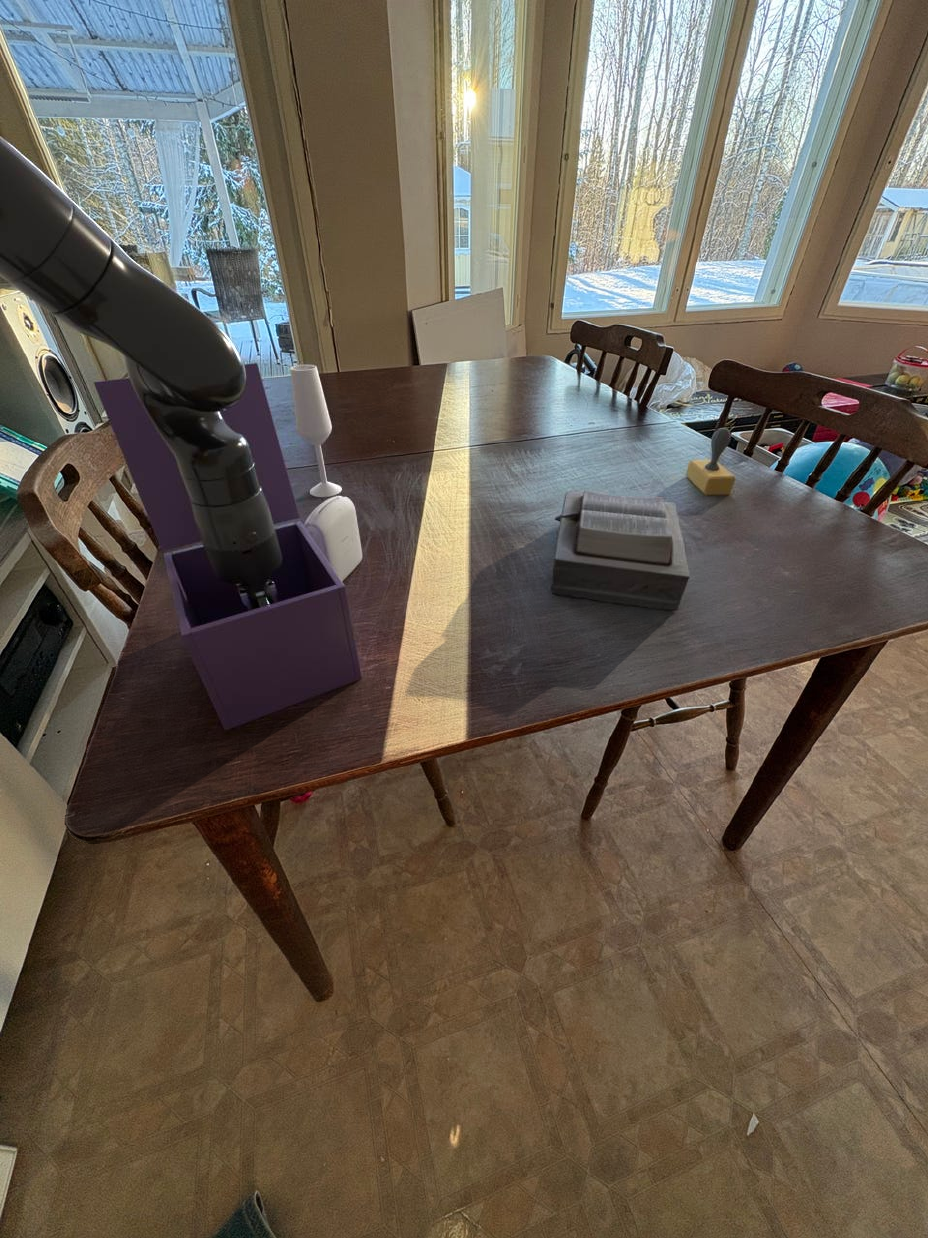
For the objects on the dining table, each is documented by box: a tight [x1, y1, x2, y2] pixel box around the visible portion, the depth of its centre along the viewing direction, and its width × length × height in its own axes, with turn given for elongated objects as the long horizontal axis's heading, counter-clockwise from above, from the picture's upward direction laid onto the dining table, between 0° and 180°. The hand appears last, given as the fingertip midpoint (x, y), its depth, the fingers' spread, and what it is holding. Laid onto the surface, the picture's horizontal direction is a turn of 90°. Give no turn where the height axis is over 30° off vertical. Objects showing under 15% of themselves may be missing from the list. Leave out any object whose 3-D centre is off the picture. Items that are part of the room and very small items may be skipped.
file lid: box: [93, 362, 301, 551], centre depth 60 cm, size 18×17×1 cm
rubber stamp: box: [685, 427, 736, 496], centre depth 106 cm, size 10×6×12 cm, turn 4°
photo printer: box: [303, 495, 363, 582], centre depth 80 cm, size 10×4×12 cm, turn 160°
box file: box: [163, 520, 363, 731], centre depth 63 cm, size 18×17×14 cm
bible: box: [549, 489, 691, 611], centre depth 83 cm, size 23×27×10 cm
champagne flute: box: [289, 364, 343, 498], centre depth 101 cm, size 7×7×24 cm
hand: (274, 646), depth 66 cm, fingers closed on block, 5 cm apart
